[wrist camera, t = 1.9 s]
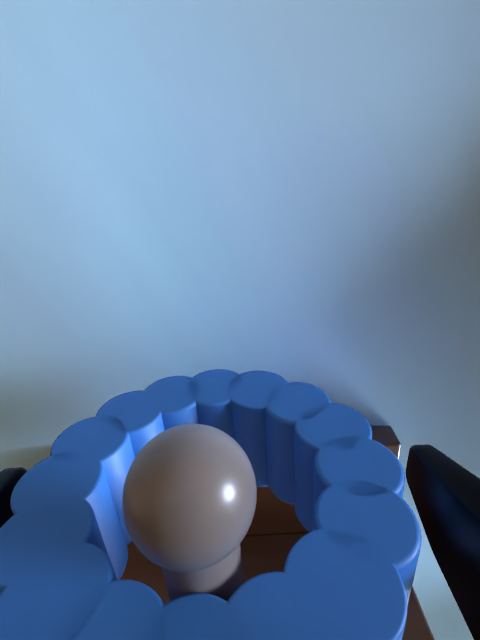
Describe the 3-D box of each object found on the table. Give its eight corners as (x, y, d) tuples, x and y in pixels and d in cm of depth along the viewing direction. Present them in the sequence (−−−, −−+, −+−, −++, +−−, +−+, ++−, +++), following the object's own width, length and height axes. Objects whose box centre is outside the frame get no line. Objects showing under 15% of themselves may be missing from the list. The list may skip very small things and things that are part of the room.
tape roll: (341, 433, 11) (500, 846, 4) (107, 447, 11) (-78, 867, 5) (346, 360, 10) (565, 760, 3) (87, 376, 10) (-195, 791, 3)
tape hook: (371, 561, 17) (478, 878, 9) (113, 574, 17) (20, 895, 9) (412, 263, 11) (789, 488, 3) (17, 289, 11) (-422, 552, 4)
